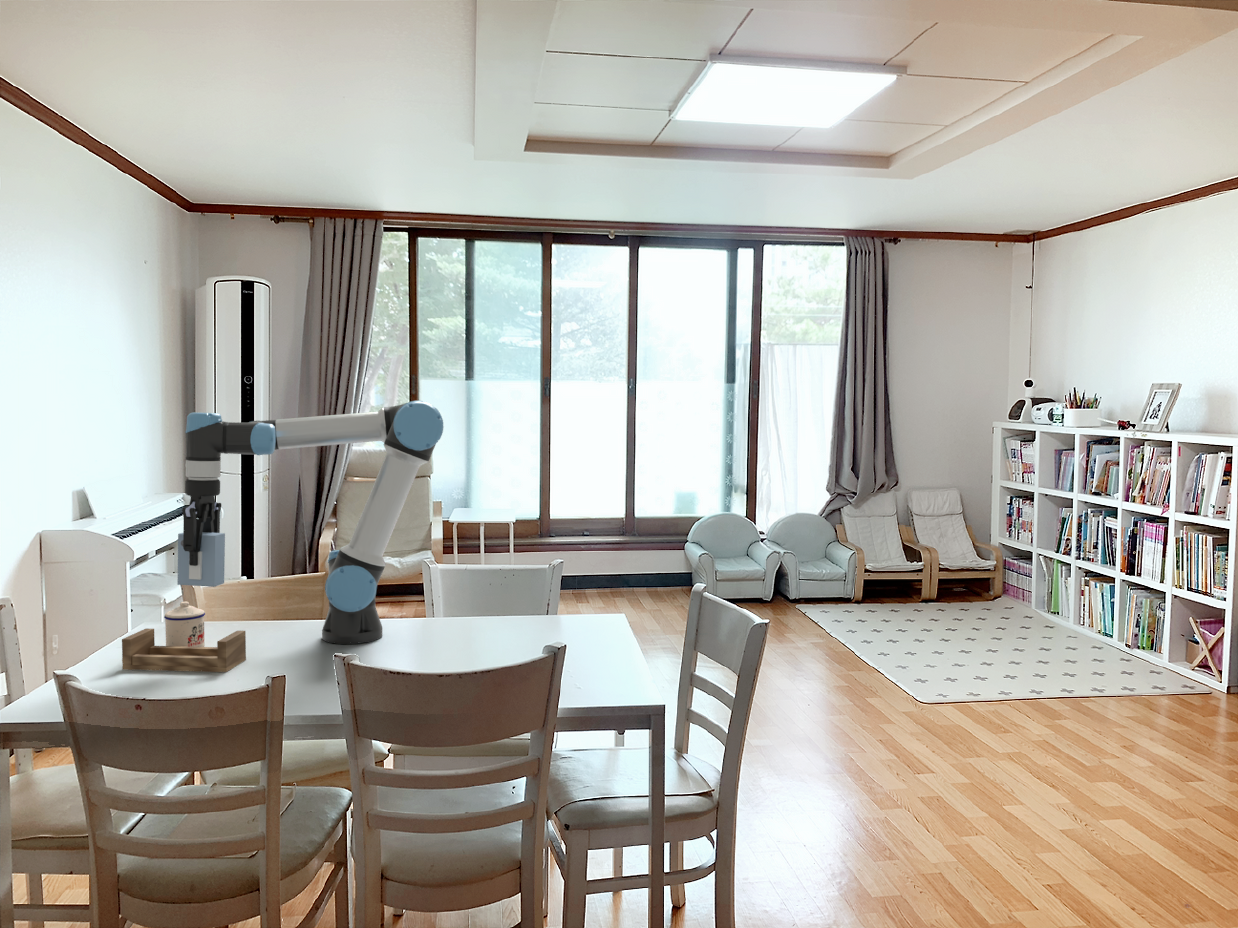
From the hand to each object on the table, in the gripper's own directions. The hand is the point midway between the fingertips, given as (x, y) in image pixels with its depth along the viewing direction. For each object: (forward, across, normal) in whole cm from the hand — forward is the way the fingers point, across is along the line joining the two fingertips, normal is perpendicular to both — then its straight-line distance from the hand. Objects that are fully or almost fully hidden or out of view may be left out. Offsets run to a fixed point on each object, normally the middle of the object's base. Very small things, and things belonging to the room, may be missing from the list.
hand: (201, 576), depth 220 cm
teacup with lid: (+20, -9, -8) cm, 24 cm away
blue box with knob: (+2, 0, 0) cm, 2 cm away
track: (+20, +5, -1) cm, 20 cm away
